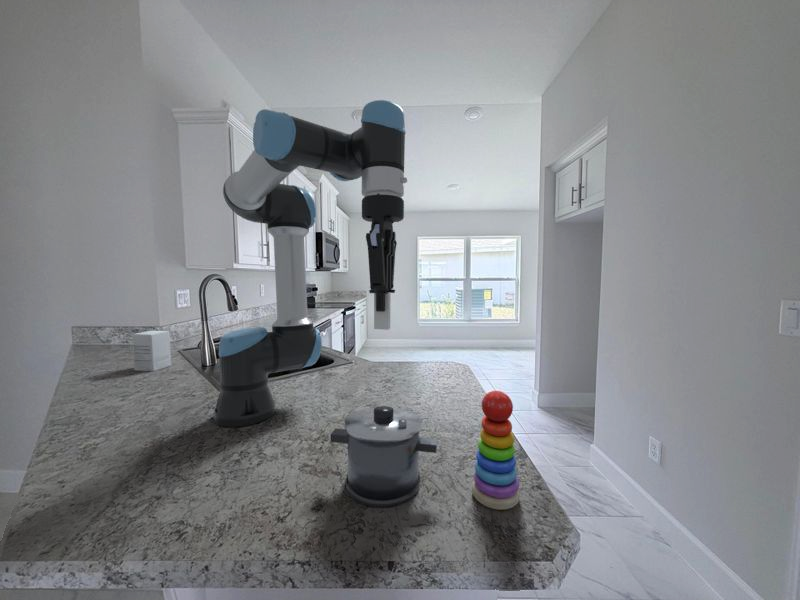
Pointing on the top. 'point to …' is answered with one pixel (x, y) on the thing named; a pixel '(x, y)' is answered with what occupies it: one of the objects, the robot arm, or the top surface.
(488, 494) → the stacking toy
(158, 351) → the supplement box
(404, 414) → the lid
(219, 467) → the top surface
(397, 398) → the top surface
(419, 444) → the pot
